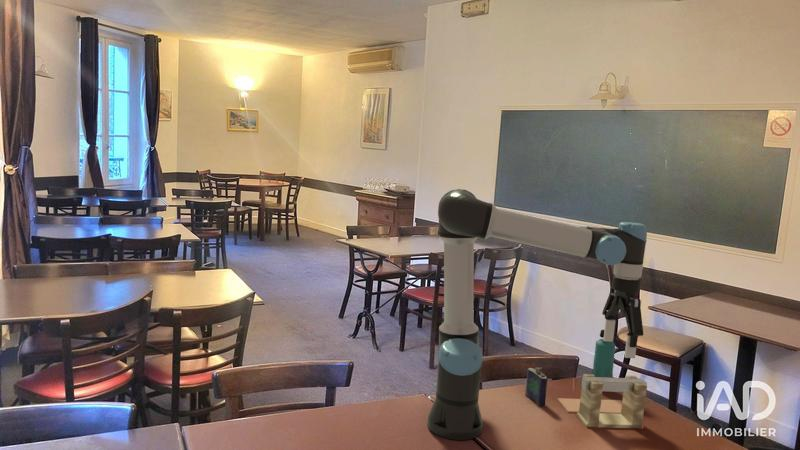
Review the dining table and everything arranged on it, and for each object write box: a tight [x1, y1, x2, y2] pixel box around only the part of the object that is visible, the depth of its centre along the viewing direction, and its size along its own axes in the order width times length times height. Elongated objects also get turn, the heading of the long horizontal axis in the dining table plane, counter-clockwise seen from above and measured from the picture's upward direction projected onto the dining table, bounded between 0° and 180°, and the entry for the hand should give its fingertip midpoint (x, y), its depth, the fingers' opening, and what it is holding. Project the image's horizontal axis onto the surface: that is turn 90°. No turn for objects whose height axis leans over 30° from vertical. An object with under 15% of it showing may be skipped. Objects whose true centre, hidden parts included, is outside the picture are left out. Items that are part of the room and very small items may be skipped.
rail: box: [581, 376, 648, 393], centre depth 167 cm, size 18×3×3 cm, turn 95°
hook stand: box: [576, 373, 648, 429], centre depth 168 cm, size 17×7×13 cm, turn 95°
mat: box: [557, 397, 623, 414], centre depth 179 cm, size 21×9×1 cm, turn 95°
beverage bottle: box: [591, 329, 616, 378], centre depth 193 cm, size 6×7×20 cm
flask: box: [524, 367, 548, 407], centre depth 180 cm, size 9×3×11 cm, turn 21°
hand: (618, 349), depth 166 cm, fingers open, 13 cm apart
